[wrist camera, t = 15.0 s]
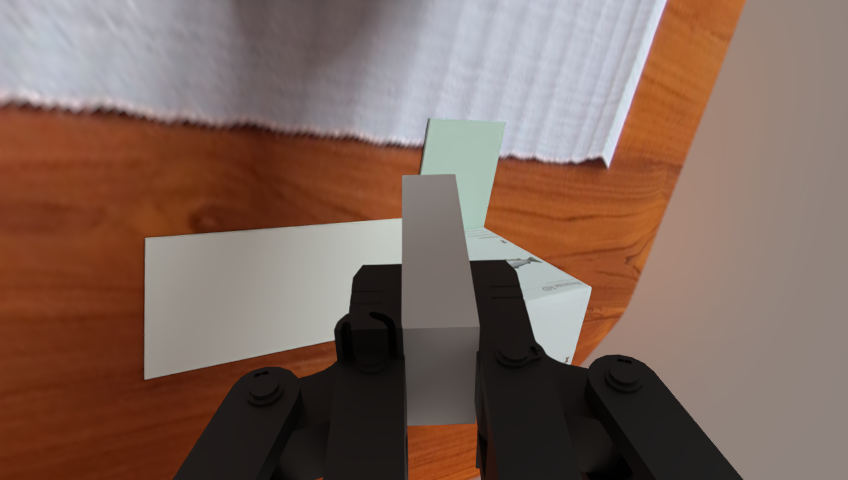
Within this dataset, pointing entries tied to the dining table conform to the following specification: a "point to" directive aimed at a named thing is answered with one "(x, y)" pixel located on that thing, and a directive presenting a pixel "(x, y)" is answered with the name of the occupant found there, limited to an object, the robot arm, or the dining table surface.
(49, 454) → the dining table surface
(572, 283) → the supplement box
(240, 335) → the t mat
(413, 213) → the robot arm
